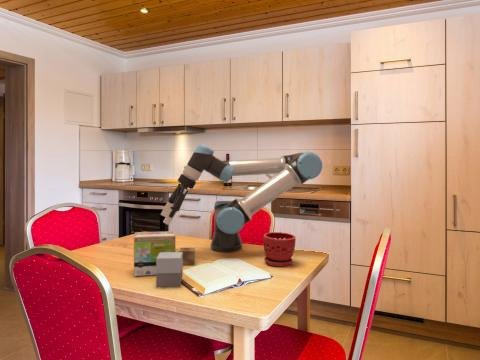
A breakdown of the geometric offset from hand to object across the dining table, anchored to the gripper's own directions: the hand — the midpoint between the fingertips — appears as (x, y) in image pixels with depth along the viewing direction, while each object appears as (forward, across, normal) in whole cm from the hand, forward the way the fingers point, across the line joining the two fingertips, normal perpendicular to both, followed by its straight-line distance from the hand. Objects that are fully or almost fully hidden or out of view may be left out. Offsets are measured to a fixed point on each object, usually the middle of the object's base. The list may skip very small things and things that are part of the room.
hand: (164, 219), depth 159 cm
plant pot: (-10, +24, +46) cm, 53 cm away
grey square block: (+8, +35, +3) cm, 36 cm away
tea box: (+16, +21, +3) cm, 27 cm away
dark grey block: (+12, +36, +6) cm, 38 cm away
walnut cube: (+9, +14, +15) cm, 22 cm away
